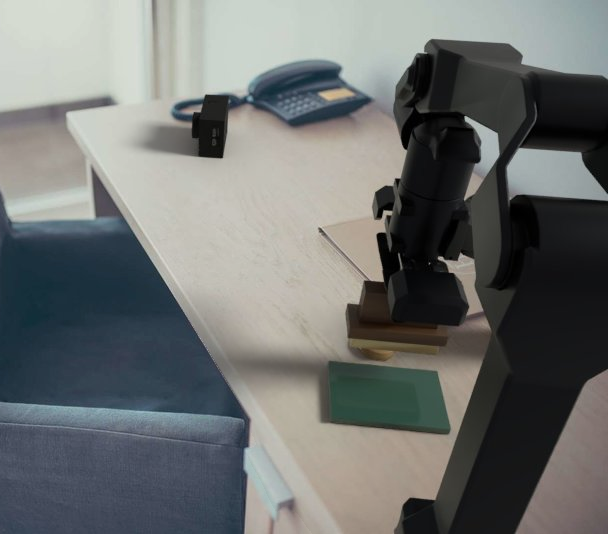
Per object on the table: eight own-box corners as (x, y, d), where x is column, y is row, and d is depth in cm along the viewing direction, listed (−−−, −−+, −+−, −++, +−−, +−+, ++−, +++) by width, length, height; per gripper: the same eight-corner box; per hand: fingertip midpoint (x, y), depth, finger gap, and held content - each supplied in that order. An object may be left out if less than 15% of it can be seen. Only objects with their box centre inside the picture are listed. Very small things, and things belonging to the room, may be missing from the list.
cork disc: (399, 344, 75) (401, 337, 74) (387, 365, 72) (389, 358, 72) (367, 331, 77) (368, 324, 76) (354, 351, 74) (355, 344, 73)
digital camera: (197, 129, 118) (198, 92, 114) (227, 131, 118) (229, 94, 113) (191, 156, 110) (191, 118, 105) (222, 158, 109) (224, 120, 105)
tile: (449, 434, 65) (451, 429, 65) (330, 422, 66) (331, 417, 65) (435, 375, 71) (437, 370, 71) (327, 365, 72) (328, 360, 72)
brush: (442, 357, 67) (459, 306, 63) (345, 348, 68) (356, 297, 63) (435, 332, 70) (451, 281, 66) (342, 323, 71) (353, 273, 67)
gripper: (560, 254, 49) (498, 390, 59) (499, 142, 64) (458, 265, 73) (412, 242, 50) (375, 378, 60) (386, 134, 64) (359, 257, 74)
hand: (396, 314), depth 67 cm, fingers closed on brush, 2 cm apart
